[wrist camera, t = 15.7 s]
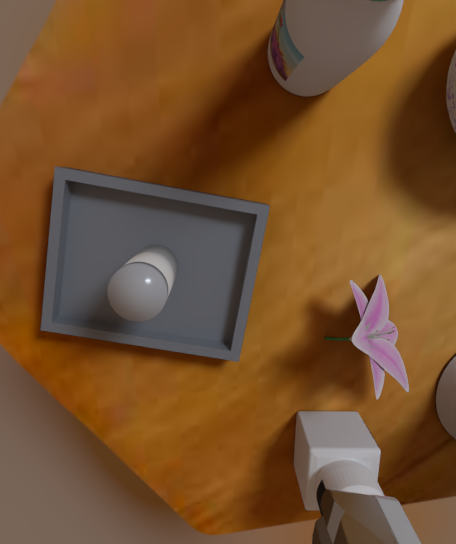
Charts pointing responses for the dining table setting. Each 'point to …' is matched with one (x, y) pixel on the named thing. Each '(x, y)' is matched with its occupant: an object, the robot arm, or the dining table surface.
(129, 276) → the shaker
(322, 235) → the dining table surface
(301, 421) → the medicine bottle
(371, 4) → the milk bottle
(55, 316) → the tray
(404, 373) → the lily
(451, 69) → the paper bowls
